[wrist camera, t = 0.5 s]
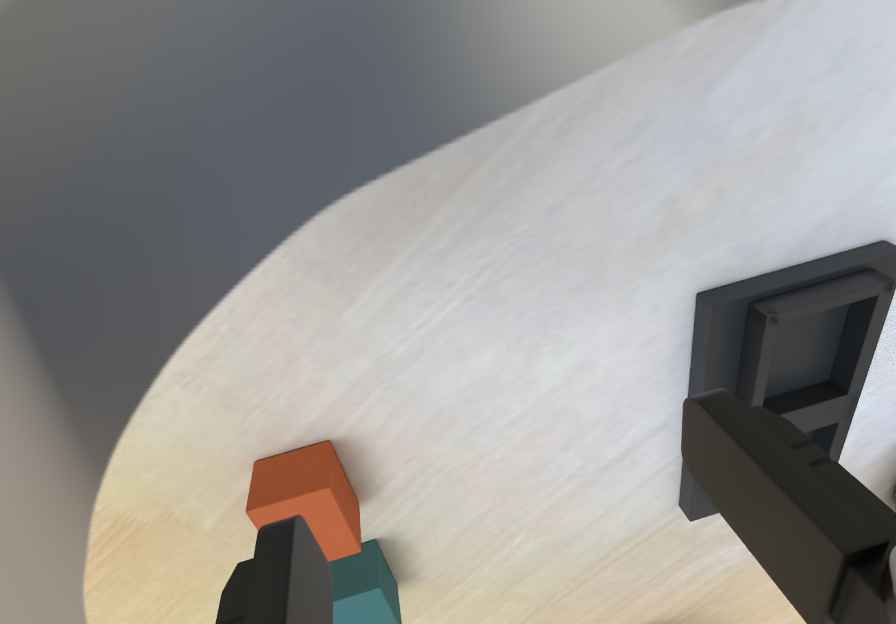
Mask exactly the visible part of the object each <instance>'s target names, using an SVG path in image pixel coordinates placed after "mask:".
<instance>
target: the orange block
mask: <svg viewBox="0 0 896 624" xmlns="http://www.w3.org/2000/svg"><path fill="white" fill-rule="evenodd" d="M246 513H247V515H248V516H249V518H250V519H251V521H252V522H253V524H254V525H255V527H256V528H257V530H258V531H259V529H260V527H261V526H262V525H265V524H268V523H272V522H275V521H278V520H282V519H285V518H288V517H292V516H295V515H298V514H300V515H302V516H303V517H304V519H305V520H306V522H307V524H308V526H309V528H310V529H311V531H312V533H313V535H314V536H315V538H316V540H317V542H318V543H319V545H320V547H321V549H322V551H323V552H324V554H325V556H326V558H327V560H328V562H329V561H333V560H336V559H339V558H343V557H346V556H349V555H352V554H356V553H359V552H361V551H362V549H361V530H360V512H359V502H358V500H357V498H356V496H355V494H354V492H353V489H352V487H351V485H350V483H349V481H348V479H347V477H346V474H345V472H344V470H343V468H342V466H341V464H340V462H339V459H338V457H337V455H336V453H335V451H334V449H333V447H332V444H331V442H330V441H325V442H322V443H318V444H315V445H312V446H308V447H305V448H301V449H298V450H294V451H291V452H287V453H284V454H280V455H277V456H273V457H270V458H266V459H263V460H260V461H256V462H254V466H253V472H252V478H251V484H250V490H249V495H248V501H247V507H246Z"/></svg>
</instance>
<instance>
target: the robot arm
mask: <svg viewBox="0 0 896 624" xmlns="http://www.w3.org/2000/svg"><path fill="white" fill-rule="evenodd" d="M681 452H682V457H683V460H684V463H685V466H686V468H687V470H688V472H689V474H690V475H691V477H692V478H693V480H694V481H695V482H696V484H697V485H698V486H699V487H700V489H701V490H702V491H703V492H704V494H705V495H706V496H707V498H708V499H709V500H710V501H711V503H712V504H713V505H714V506H715V508H716V509H717V510H718V511H719V513H720V514H721V515H722V517H723V518H724V519H725V520H726V522H727V523H728V524H729V525H730V527H731V528H732V529H733V531H734V532H735V533H736V534H737V536H738V537H739V538H740V539H741V541H742V542H743V543H744V544H745V546H746V547H747V548H748V550H749V551H750V552H751V553H752V555H753V556H754V557H755V558H756V560H757V561H758V562H759V563H760V565H761V566H762V567H763V569H764V570H765V571H766V572H767V574H768V575H769V576H770V577H771V579H772V580H773V581H774V582H775V584H776V585H777V586H778V588H779V589H780V590H781V591H782V593H783V594H784V595H785V596H786V598H787V599H788V600H789V601H790V603H791V604H792V605H793V607H794V608H795V609H796V610H797V612H798V613H799V614H800V615H801V617H802V618H803V619H804V621H805V622H806V623H807V624H896V513H895V512H894V511H893V510H892V509H891V508H889V507H888V506H887V505H886V504H885V503H884V502H882V501H881V500H880V499H879V498H878V497H877V496H876V495H874V494H873V493H872V492H871V491H870V490H869V489H868V488H866V487H865V486H864V485H863V484H862V483H861V482H859V481H858V480H857V479H856V478H855V477H854V476H853V475H851V474H850V473H849V472H848V471H847V470H846V469H844V468H843V467H842V466H841V465H840V464H839V463H838V462H836V461H832V460H831V458H830V456H829V455H828V454H827V453H826V452H825V451H824V450H823V449H821V448H820V447H819V446H818V445H817V444H816V443H815V444H813V443H812V442H811V439H810V438H809V437H808V436H806V435H805V434H804V433H803V432H802V431H801V430H800V429H798V428H797V427H796V426H795V425H794V424H793V423H791V422H790V421H789V420H788V419H786V418H784V417H782V416H780V415H778V414H776V413H774V412H772V411H770V410H768V409H765V408H763V407H761V406H759V405H757V406H754V407H751V408H748V407H747V406H745V405H744V404H743V403H742V402H741V401H740V400H739V399H738V398H737V397H736V396H735V395H734V394H732V393H731V392H730V391H729V390H727V389H724V388H719V389H716V390H712V391H709V392H706V393H702V394H699V395H696V396H692V397H689V398H686V399H685V401H684V403H683V418H682V441H681ZM216 624H333V582H332V575H331V570H330V566H329V563H328V560H327V558H326V556H325V554H324V552H323V551H322V549H321V547H320V545H319V543H318V542H317V540H316V538H315V536H314V535H313V533H312V531H311V529H310V528H309V526H308V524H307V522H306V520H305V519H304V517H303V516H302V515H300V514H298V515H295V516H292V517H288V518H285V519H282V520H278V521H275V522H272V523H268V524H265V525H262V526H261V527H260V529H259V531H258V534H257V540H256V546H255V553H254V558H253V559H249V560H246V561H243V562H240V563H238V564H237V566H236V568H235V569H234V571H233V573H232V575H231V577H230V579H229V580H228V582H227V584H226V586H225V588H224V590H223V591H222V594H221V599H220V604H219V609H218V614H217V619H216Z"/></svg>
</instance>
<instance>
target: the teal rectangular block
mask: <svg viewBox="0 0 896 624" xmlns="http://www.w3.org/2000/svg"><path fill="white" fill-rule="evenodd" d="M361 549H362V551H361V552H359V553H356V554H352V555H349V556H346V557H343V558H339V559H336V560H333V561H329V562H328V563H329V566H330V570H331V575H332V582H333V624H402V622H401V614H400V605H399V596H398V587H397V584H396V582H395V580H394V577H393V575H392V573H391V571H390V569H389V567H388V565H387V562H386V560H385V558H384V556H383V554H382V552H381V550H380V547H379V545H378V543H377V541H376V540H373V541H370V542H366V543H363V544H361Z"/></svg>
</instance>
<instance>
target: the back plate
mask: <svg viewBox="0 0 896 624" xmlns="http://www.w3.org/2000/svg"><path fill="white" fill-rule="evenodd" d="M895 290H896V245H894V244H891V243H889V242H887V241H882V242H879V243H875V244H872V245H868V246H864V247H861V248H857V249H854V250H850V251H847V252H843V253H840V254H836V255H833V256H829V257H826V258H822V259H819V260H815V261H812V262H808V263H805V264H801V265H797V266H794V267H790V268H787V269H783V270H780V271H776V272H773V273H769V274H766V275H762V276H759V277H755V278H752V279H748V280H745V281H741V282H737V283H734V284H730V285H727V286H723V287H720V288H716V289H713V290H709V291H706V292H702V293H699V294H697V300H696V312H695V324H694V336H693V347H692V359H691V371H690V383H689V395H688V398H689V397H692V396H696V395H699V394H702V393H706V392H709V391H712V390H716V389H719V388H724V389H727V390H729V391H730V392H731V393H732V394H734V395H735V396H736V397H737V398H738V399H739V400H740V401H741V402H742V403H743V404H744V405H745V406H747V407H748V408H751V407H754V406H757V405H759V406H761V407H763V408H765V409H768V410H770V411H772V412H774V413H776V414H778V415H780V416H782V417H784V418H786V419H788V420H789V421H790V422H791V423H793V424H794V425H795V426H796V427H797V428H798V429H800V430H801V431H802V432H803V433H804V434H805V435H806V436H808V437H809V438H810V439H811V442H812V443H813V444H815V443H816V444H817V445H818V446H819V447H820V448H821V449H823V450H824V451H825V452H826V453H827V454H828V455H829V456H830V458H831V460H832V461H836V462H838V461H839V458H840V455H841V452H842V449H843V446H844V443H845V440H846V437H847V434H848V431H849V428H850V425H851V422H852V419H853V416H854V413H855V410H856V407H857V404H858V401H859V398H860V395H861V392H862V389H863V386H864V383H865V380H866V377H867V374H868V371H869V368H870V365H871V362H872V359H873V356H874V353H875V350H876V347H877V344H878V341H879V338H880V335H881V332H882V329H883V326H884V323H885V320H886V317H887V314H888V311H889V308H890V305H891V302H892V299H893V296H894V293H895ZM679 506H680V508H681V509H682V511H683V512H684V514H685V515H686V517H687V518H688V519H689V521H690V522H691V521H694V520H698V519H701V518H704V517H707V516H710V515H714V514H717V513H719V511H718V510H717V509H716V508H715V506H714V505H713V504H712V503H711V501H710V500H709V499H708V498H707V496H706V495H705V494H704V492H703V491H702V490H701V489H700V487H699V486H698V485H697V484H696V482H695V481H694V480H693V478H692V477H691V475H690V474H689V472H688V470H687V468H686V466H685V463H684V460H683V467H682V479H681V491H680V502H679ZM729 526H730V525H729Z"/></svg>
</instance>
